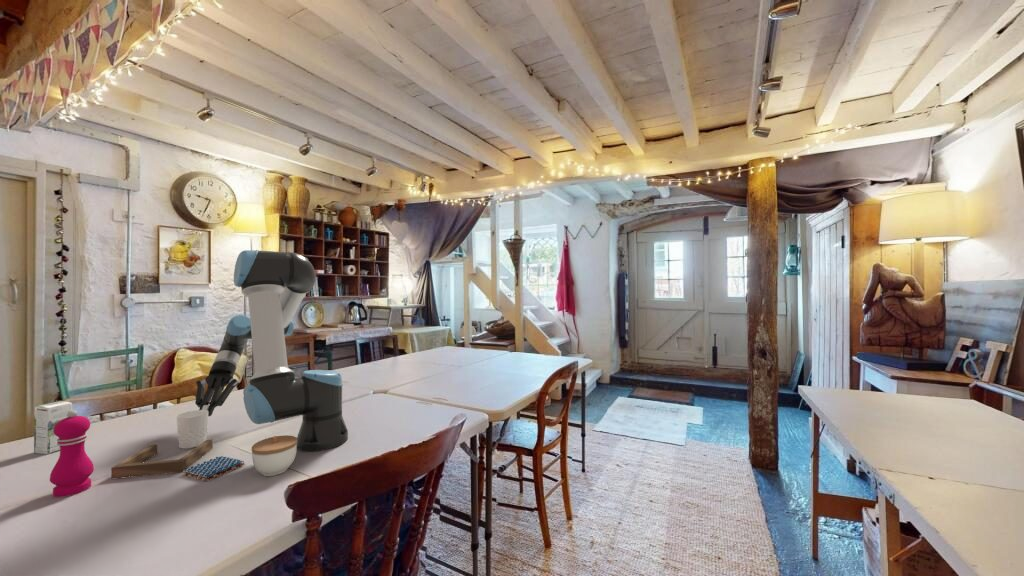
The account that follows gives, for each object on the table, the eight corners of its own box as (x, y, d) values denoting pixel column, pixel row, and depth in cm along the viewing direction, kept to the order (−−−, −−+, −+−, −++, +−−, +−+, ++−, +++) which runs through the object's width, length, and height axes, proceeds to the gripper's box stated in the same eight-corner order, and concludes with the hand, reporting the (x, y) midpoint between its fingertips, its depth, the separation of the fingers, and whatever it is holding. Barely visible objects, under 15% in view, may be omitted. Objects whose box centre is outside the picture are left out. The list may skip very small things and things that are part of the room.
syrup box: (58, 445, 122) (58, 400, 122) (72, 447, 121) (72, 401, 121) (33, 453, 117) (33, 406, 117) (47, 454, 116) (47, 407, 116)
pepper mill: (53, 501, 90) (52, 417, 90) (46, 493, 94) (46, 412, 94) (97, 488, 96) (97, 408, 96) (90, 480, 100) (89, 404, 100)
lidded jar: (242, 476, 102) (242, 441, 102) (279, 459, 112) (279, 427, 112) (269, 483, 98) (269, 447, 98) (306, 465, 108) (306, 432, 108)
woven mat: (206, 484, 99) (206, 476, 99) (180, 477, 102) (180, 470, 102) (247, 466, 108) (247, 459, 108) (222, 461, 112) (222, 454, 112)
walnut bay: (151, 454, 116) (151, 444, 116) (212, 448, 119) (212, 439, 119) (111, 479, 101) (111, 467, 101) (182, 471, 104) (182, 461, 104)
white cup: (190, 450, 118) (190, 418, 118) (170, 448, 120) (170, 416, 120) (214, 440, 126) (214, 410, 126) (195, 438, 128) (195, 409, 128)
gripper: (247, 370, 148) (226, 428, 132) (209, 372, 145) (182, 431, 129) (241, 358, 143) (218, 418, 127) (201, 360, 140) (172, 421, 124)
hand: (200, 424), depth 128 cm, fingers closed
